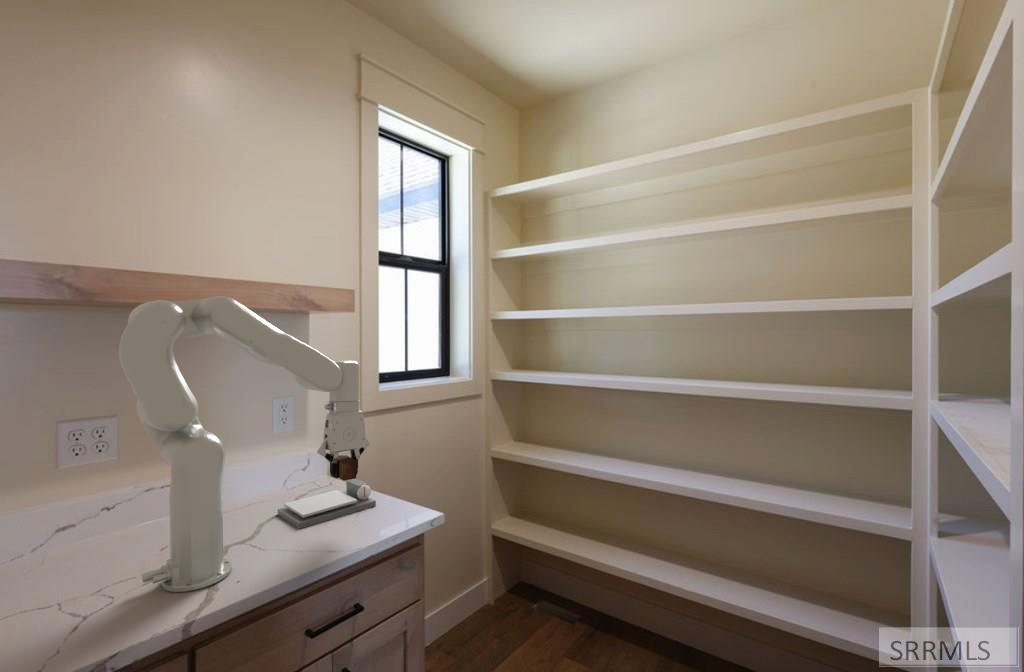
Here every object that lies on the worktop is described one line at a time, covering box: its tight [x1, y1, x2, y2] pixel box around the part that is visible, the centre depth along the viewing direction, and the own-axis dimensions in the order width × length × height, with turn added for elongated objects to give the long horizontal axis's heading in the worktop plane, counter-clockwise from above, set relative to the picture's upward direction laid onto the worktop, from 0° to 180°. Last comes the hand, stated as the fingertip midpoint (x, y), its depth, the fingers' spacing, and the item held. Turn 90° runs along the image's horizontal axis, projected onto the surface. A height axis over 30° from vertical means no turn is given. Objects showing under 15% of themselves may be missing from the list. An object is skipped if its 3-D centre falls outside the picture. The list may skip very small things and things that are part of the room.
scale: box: [277, 478, 377, 530], centre depth 141 cm, size 23×15×6 cm, turn 137°
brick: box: [337, 454, 359, 482], centre depth 127 cm, size 11×4×5 cm, turn 38°
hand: (344, 474), depth 127 cm, fingers closed on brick, 4 cm apart
